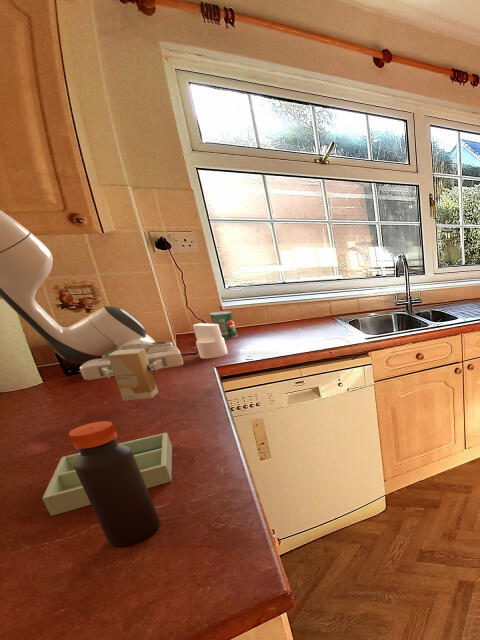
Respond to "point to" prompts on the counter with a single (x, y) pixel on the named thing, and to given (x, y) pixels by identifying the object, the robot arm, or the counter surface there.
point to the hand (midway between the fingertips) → (132, 371)
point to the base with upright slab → (209, 341)
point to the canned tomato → (224, 323)
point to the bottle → (113, 484)
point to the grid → (150, 460)
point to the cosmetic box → (133, 374)
